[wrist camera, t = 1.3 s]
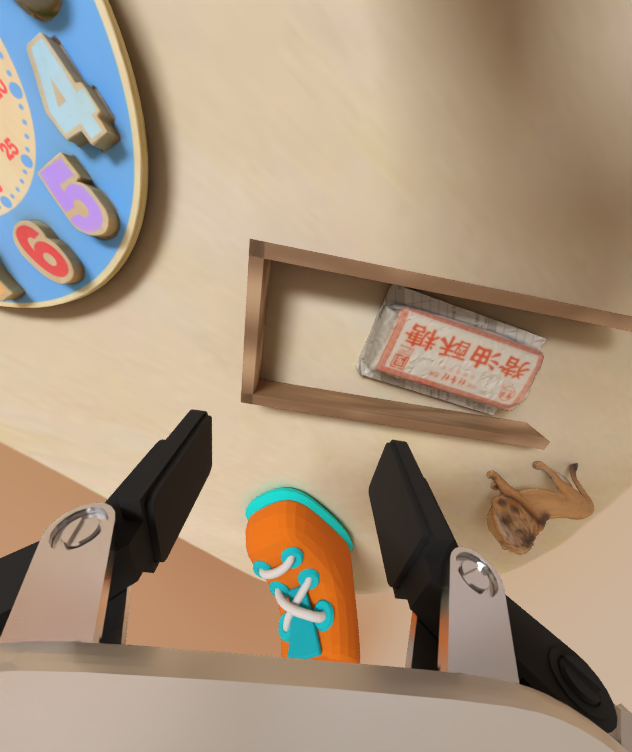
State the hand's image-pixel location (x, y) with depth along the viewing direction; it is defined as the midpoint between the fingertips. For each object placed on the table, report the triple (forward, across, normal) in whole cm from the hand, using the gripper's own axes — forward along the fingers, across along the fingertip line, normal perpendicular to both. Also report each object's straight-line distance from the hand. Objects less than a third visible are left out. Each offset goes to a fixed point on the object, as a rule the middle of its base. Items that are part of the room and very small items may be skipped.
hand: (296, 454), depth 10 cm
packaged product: (+19, -15, 0) cm, 24 cm away
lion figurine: (+18, -32, +16) cm, 40 cm away
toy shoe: (+18, -4, +32) cm, 37 cm away
